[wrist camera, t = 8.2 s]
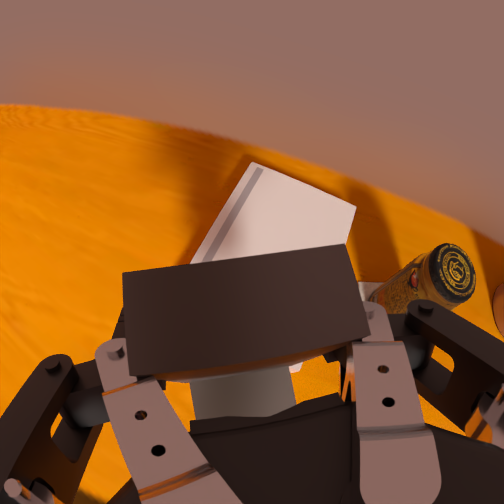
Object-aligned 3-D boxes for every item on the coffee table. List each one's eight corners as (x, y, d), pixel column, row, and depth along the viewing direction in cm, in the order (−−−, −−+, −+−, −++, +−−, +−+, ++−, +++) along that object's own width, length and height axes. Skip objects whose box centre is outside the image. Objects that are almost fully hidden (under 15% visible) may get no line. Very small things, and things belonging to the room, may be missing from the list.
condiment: (410, 283, 33) (473, 236, 22) (419, 352, 29) (493, 327, 19) (357, 282, 32) (414, 229, 22) (364, 358, 29) (434, 336, 18)
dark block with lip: (280, 319, 16) (342, 236, 8) (299, 409, 14) (391, 428, 6) (178, 334, 15) (122, 264, 7) (193, 427, 13) (148, 478, 5)
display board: (249, 177, 37) (251, 161, 34) (347, 220, 36) (356, 206, 33) (169, 316, 29) (164, 308, 26) (291, 372, 28) (299, 371, 25)
